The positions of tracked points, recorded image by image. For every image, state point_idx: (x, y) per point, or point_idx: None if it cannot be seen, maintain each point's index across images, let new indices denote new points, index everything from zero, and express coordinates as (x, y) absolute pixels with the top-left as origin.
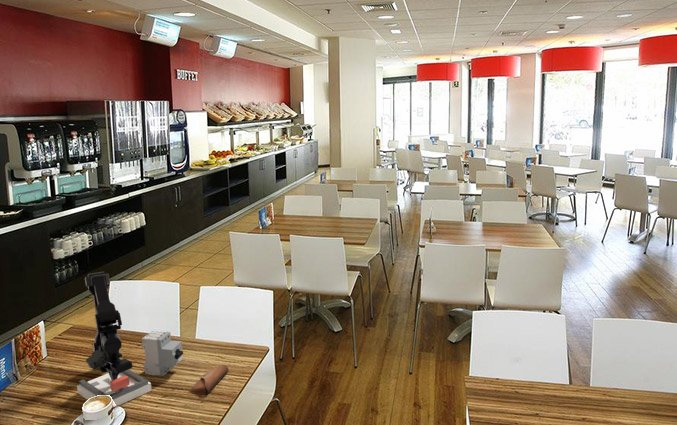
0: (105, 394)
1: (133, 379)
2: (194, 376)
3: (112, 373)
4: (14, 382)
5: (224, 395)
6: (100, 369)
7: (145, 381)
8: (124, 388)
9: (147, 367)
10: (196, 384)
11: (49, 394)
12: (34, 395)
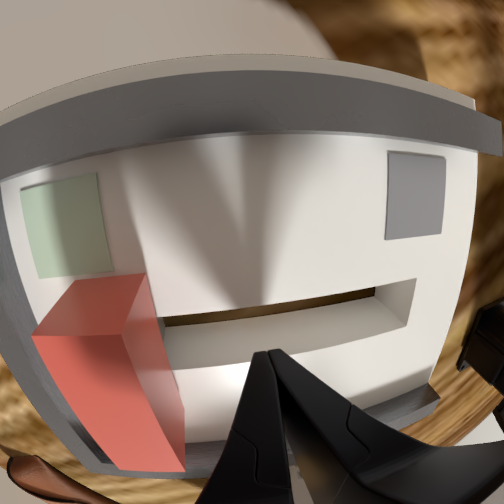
0: (1, 170)
1: (219, 439)
2: (139, 500)
3: (216, 467)
4: None
5: (2, 462)
6: (496, 304)
7: (82, 463)
8: (27, 362)
9: (299, 481)
10: (49, 483)
11: (486, 38)
12: (498, 17)
